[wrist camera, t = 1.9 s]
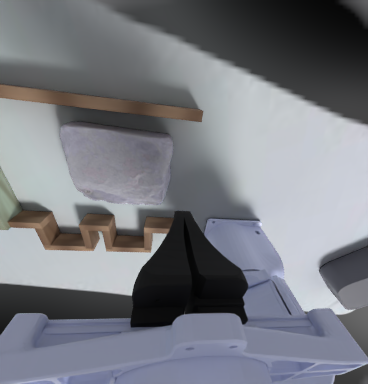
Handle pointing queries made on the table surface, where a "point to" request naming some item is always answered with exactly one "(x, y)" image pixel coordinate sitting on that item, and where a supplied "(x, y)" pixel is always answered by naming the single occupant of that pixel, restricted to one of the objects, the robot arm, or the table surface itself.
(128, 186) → the stone block
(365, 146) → the table surface
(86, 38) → the table surface
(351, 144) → the table surface
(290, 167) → the table surface
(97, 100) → the trap lane
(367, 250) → the streaming box
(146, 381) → the robot arm
